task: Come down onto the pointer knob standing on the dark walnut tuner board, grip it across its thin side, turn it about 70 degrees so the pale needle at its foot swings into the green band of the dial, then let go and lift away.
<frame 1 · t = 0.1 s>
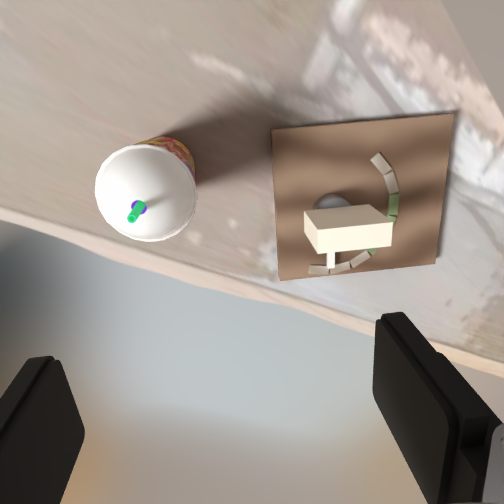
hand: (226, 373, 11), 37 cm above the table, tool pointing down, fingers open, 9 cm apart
smoothie: (166, 165, 45), on the table
pointer knob: (340, 244, 44), point 6 cm above the table, hinge at 0.0°
tuner board: (357, 200, 48), on the table
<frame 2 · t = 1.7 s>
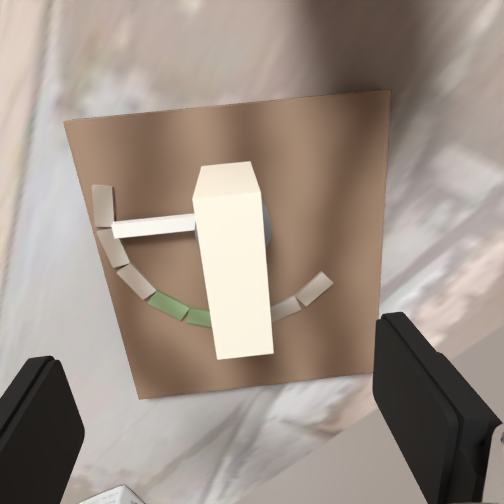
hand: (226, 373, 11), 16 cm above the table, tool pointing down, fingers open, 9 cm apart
pointer knob: (185, 247, 20), point 6 cm above the table, hinge at 0.0°
tuner board: (244, 259, 28), on the table
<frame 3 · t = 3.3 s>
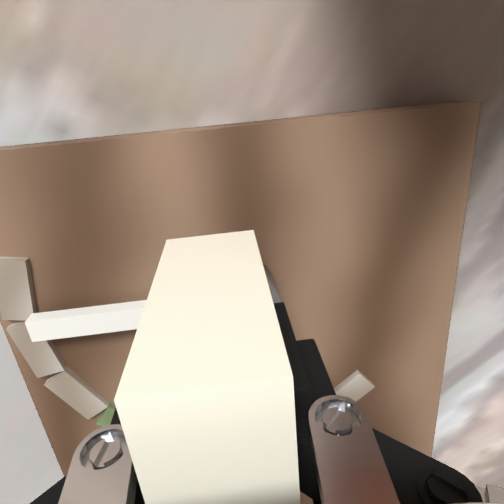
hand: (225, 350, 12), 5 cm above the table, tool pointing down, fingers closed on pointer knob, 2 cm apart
pointer knob: (137, 387, 11), point 6 cm above the table, hinge at 0.0°, touching gripper
tuner board: (242, 349, 19), on the table
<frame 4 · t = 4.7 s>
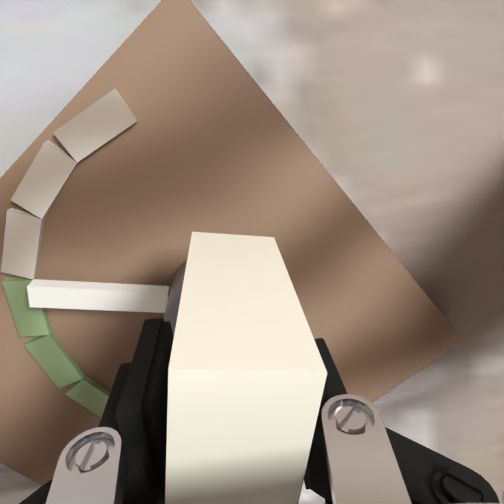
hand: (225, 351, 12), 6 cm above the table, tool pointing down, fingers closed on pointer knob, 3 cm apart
pointer knob: (139, 366, 12), point 6 cm above the table, hinge at 42.5°, touching gripper
tuner board: (170, 334, 19), on the table
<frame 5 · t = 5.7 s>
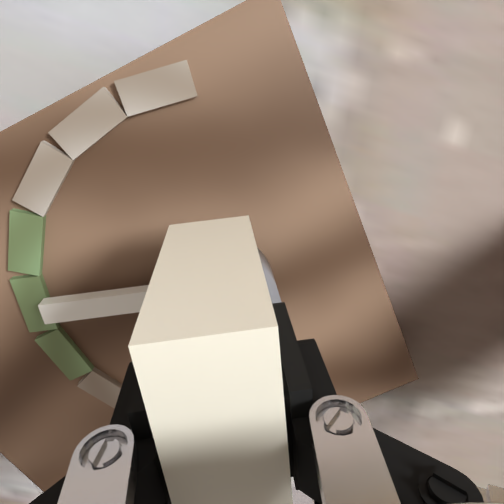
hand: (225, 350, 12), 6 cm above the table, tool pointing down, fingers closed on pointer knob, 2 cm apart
pointer knob: (144, 359, 12), point 6 cm above the table, hinge at 70.5°, touching gripper
tuner board: (153, 307, 19), on the table
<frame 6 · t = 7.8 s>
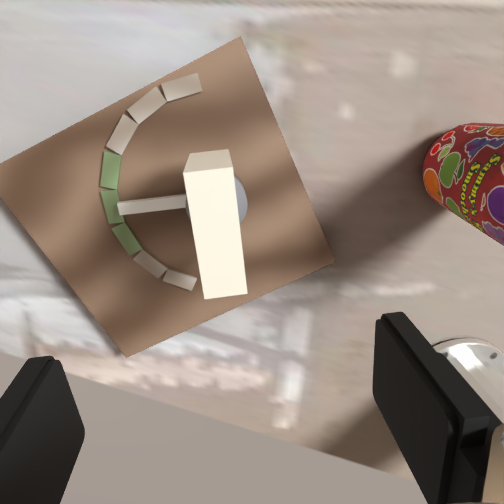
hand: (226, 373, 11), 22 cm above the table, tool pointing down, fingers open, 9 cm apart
smoothie: (452, 163, 33), on the table
pointer knob: (178, 217, 25), point 6 cm above the table, hinge at 70.3°
tuner board: (176, 215, 32), on the table
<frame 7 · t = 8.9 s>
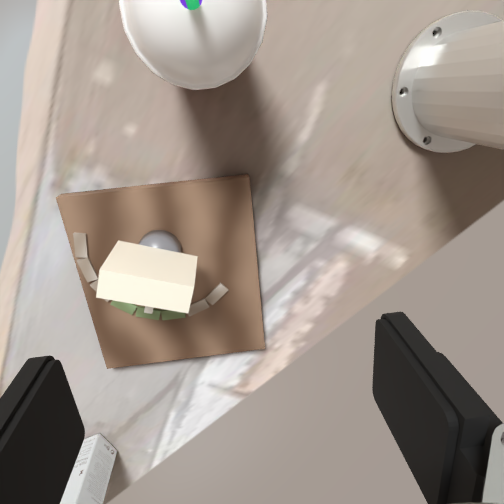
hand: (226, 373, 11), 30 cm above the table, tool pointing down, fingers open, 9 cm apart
smoothie: (202, 39, 35), on the table
skincare box: (91, 449, 53), on the table
pointer knob: (149, 292, 37), point 6 cm above the table, hinge at 70.3°
tuner board: (173, 275, 43), on the table
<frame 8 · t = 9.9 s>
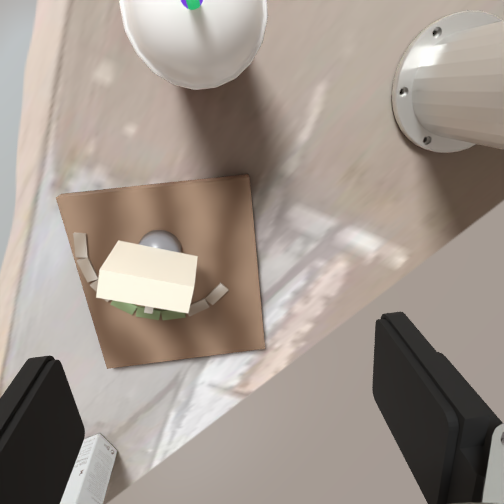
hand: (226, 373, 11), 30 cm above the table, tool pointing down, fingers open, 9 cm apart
smoothie: (202, 39, 35), on the table
skincare box: (91, 449, 53), on the table
pointer knob: (149, 292, 37), point 6 cm above the table, hinge at 70.3°
tuner board: (173, 275, 43), on the table
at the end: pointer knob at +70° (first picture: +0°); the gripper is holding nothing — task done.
